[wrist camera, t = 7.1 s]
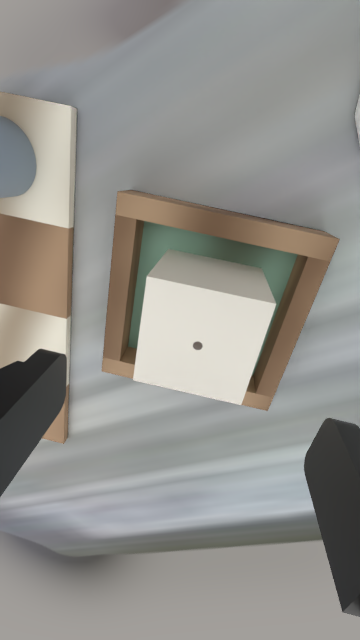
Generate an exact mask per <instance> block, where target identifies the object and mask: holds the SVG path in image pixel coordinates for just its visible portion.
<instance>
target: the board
mask: <svg viewBox="0 0 360 640" xmlns="http://www.w3.org/2000/svg"><path fill="white" fill-rule="evenodd" d="M0 116H3V117H6V118H8V119H10V120H11V121H13V122H14V123H15V124H16V125H18V126H19V127H20V128H21V129H22V130H23V132H24V133H25V134H26V136H27V137H28V139H29V141H30V143H31V145H32V147H33V150H34V154H35V158H36V175H35V179H34V181H33V184H32V185H31V187H30V188H29V189H28V190H27V191H26V192H25V193H23V194H21V195H19V196H15V197H6V198H0V368H2V367H5V366H7V365H9V364H11V363H13V362H16V361H22V362H25V361H26V360H27V359H28V358H29V357H30V356H31V355H32V354H33V353H35V352H36V351H37V350H38V349H45V350H49V351H53V352H58V353H62V354H65V355H66V357H67V380H66V397H65V401H64V404H63V407H62V409H61V411H60V413H59V414H58V416H57V417H56V418H55V420H54V421H53V423H52V424H51V426H50V427H49V428H48V430H47V431H46V433H45V434H44V435H43V437H42V438H43V439H47V440H51V441H55V442H59V443H63V444H64V442H65V441H66V439H67V434H68V400H69V366H70V332H71V298H72V264H73V230H74V196H75V161H76V127H77V109H76V108H74V107H72V106H68V105H63V104H58V103H53V102H48V101H44V100H39V99H34V98H29V97H24V96H19V95H14V94H10V93H5V92H0Z"/></svg>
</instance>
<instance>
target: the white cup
mask: <svg viewBox="0 0 360 640" xmlns="http://www.w3.org/2000/svg"><path fill="white" fill-rule="evenodd" d="M355 122H356V128H357V134H358V139H359V145H360V95H359V99H358V103H357V107H356V111H355Z"/></svg>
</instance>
